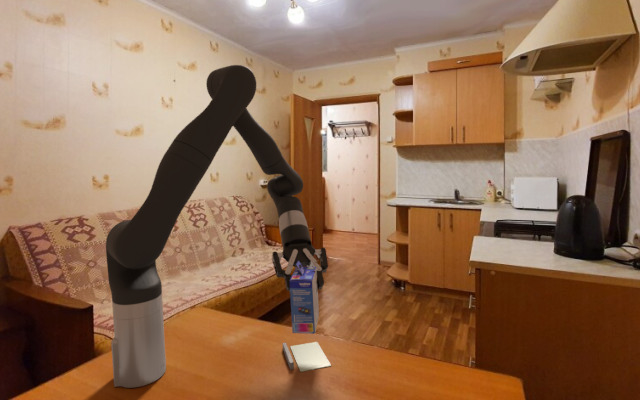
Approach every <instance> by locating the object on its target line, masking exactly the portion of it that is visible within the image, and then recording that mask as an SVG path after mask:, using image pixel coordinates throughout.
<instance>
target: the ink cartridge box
mask: <svg viewBox="0 0 640 400" xmlns="http://www.w3.org/2000/svg"><path fill="white" fill-rule="evenodd" d="M299 265H300V267H299ZM291 275H292V277H291V279H290V291H289V295H290V298H289V299H290V311H291V312H290V314H291V329H292V330H291V331H292V334H311V335H313V334H316V332H317V327H318V321H319V316H320V313H319V312H320V311H319V310H320V309H319V307H320V306H319V289H318V284H317V267H308V266H305V267H303V266H302V265H301V263H300V262H299V261H298V262H297V264H296V267H295V269H294V270H293V273H292V274H291Z"/></svg>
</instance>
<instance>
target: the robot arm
mask: <svg viewBox="0 0 640 400" xmlns="http://www.w3.org/2000/svg"><path fill="white" fill-rule="evenodd" d="M206 90H207V91H206V92H207V93H208V94H209V97H210V99H211V101H210V102H209V104H208V105H207V106H206V107H205V109H203V110H202V112H200V113H199V114H198V115H197V116H196V117H194V119H192V120H191V121H190V122H189V123H188V124H187V125H185V126H184V128H182V130H180V132H178V134H177V135H176V137H174V139H173V140H172V142H171V144H170V145H169V147H168V148H167V150H166V151H165V153H164V155H163V156H162V157H161V160H160V162H159V164H158V167H157V169H156V172H155V176H154V179H153V182H152V185H151V189H150V191H149V193H148V195H147V197H146V199H145V200H144V201H143V203H142V205H141V206H140V208H138V210H137V212H136V213H135V214H134V215H133V217H132V218H131V219H127V220H123V221H121V222H118V223H117V224H115V225H114V226H112V228H111V229H110V230H109V232H108V233H107V237H106V240H105V255H106V266H107V267H106V268H107V278H108V285H109V289H110V293H111V304H112V319H113V331H114V332H113V333H114V337H113V339H112V340H111V345H110V346H111V357H112V372H113V375H112V376H113V386H114V388H115V387H121V388H122V387H123V388H126V389H127V388H129V389H131V388H133V389H134V388H138V387H144V386H147V385H149V384H151V383H154V382H156V381H158V380H159V379H160V378H161V377H162V376H164V374H165V373H166V370H167V365H166V364H167V359H166V347H165V346H166V341H165V327H164V326H165V325H164V306H163V288H162V286H163V285H162V281H161V277H160V275H159V273H158V268H157V261H156V260H158V259H159V257H160V256H161V254H162V253H163V251H164V249H165V247H166V244H167V243H168V240H169V238H170V235H171V233H172V231H173V228H174V226H176V225H175V224H176V222H177V220H178V218H179V216H180V215H181V212H182V211H183V209H184V207H185V206H186V204H187V203H188V202H189V199H191V197H192V195H193V194H194V192H195V190H196V189H197V187H198V185H199V184H200V182H201V180H202V179H203V178H204V176H205V174H207V171H208V170H209V168H210V166H211V164H212V162H213V161H214V159H215V157H216V155H217V153H218V152H219V150H220V148H221V147H222V144H223V143H224V141H225V140H226V138H227V137H228V134H229V133H230V131H231V129H232V128H234V129H235V130H236V132H237V133H238V134H239V136H240V137H241V138H242V140H243V141H244V143H245V144H246V145H247V147H248V148H249V151H251V153H252V155H253V156H254V159H255V161H256V162H257V164H258V165H259V167H260V169H261V171H262V172H263V173H264V174H265V175H268V176H272V175H278V176H275V177H272V178H271V179H269V181H268V182H267V185H266V189H267V193H268V194H269V196H270V198H271V200H272V202H273V203H274V205H275V207H276V211H277V216H278V223H279V224H278V227H279V235H280V238H281V239H280V240H281V245H282V251H281V252H277V251H273V252H272V255H271V260H272V264H273V265H272V266H273V268H274V269H273V270H274V272H275V275H276V277H277V278H283V279H284V281H285V282H284V283H285V289H286V291H289V292H290V279H291V277H292V275H293V274H291V272H292V271H293V267H294V268H296V264H297V262H298V261H299V262H300V263H301V265H302V267H317V284H318V290H322V289H323V286H324V284H325V280H324V277H323V273H326V272H327V269H328V268H329V263H328V258H327V257H328V255H327V250H326V247H321V248H319V249H318V248H317V249H316V248H315V247H314V246H313V243H312V240H311V234H310V231H309V227H308V221H307V219H306V217H305V213H304V210H303V209H304V208H303V206H302V202H301V200H300V199H299V198H298V197H296V195H299V194H301V193H302V191H303V190H304V189H303V188H304V182H303V179H302V177H301V175H300V174H299V173H298V172H297V171H296V170H295V169H294V168H293V167H292V166H291V165H290V164H289V163H288V162H287V160H286V159H285V157H284V155H283V153H282V152H281V150H280V148H279V147H278V144H277V143H276V141H275V139H274V137H272V135H271V134H270V133H269V132H268V131H267V130H266V129H265V128H264V127H263V126H262V125H261V124H260V123H259V122H258V121H257V120H256V119H255V117H253V115H252V114H251V112H250V111H249V109H248V108H247V107H249V105H250V104H251V102H252V101H253V99H254V97H255V94H256V92H257V79H256V76H255V74H254V72H253V71H252V70H251V69H250V68H249V67H248V66H245V65H242V64H231V65H228V66H227V65H226V66H223V67H220V68H216V69H215V70H212V71H211V72H210V73H209V74H208V75H207V79H206ZM315 255H316V256H317V258H318V259H319V263H320V264H318V261H317V259H316V258H315V257H314V256H315ZM282 258H283V259H284V260H285V261H286V262H287V265H286V268H285V269H283V268H282V265H281V264H282V263H281V261H282ZM299 267H301V266H300V265H299Z"/></svg>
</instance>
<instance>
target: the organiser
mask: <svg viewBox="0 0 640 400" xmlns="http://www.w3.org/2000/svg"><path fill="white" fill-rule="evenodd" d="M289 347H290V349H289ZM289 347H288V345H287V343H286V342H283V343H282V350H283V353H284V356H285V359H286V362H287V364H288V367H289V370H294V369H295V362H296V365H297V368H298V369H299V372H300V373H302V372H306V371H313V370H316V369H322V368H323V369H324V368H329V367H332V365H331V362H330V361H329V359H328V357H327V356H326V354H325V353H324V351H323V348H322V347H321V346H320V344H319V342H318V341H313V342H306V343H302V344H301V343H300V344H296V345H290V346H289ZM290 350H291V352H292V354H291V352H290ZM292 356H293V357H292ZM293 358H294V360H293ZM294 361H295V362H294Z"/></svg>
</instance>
